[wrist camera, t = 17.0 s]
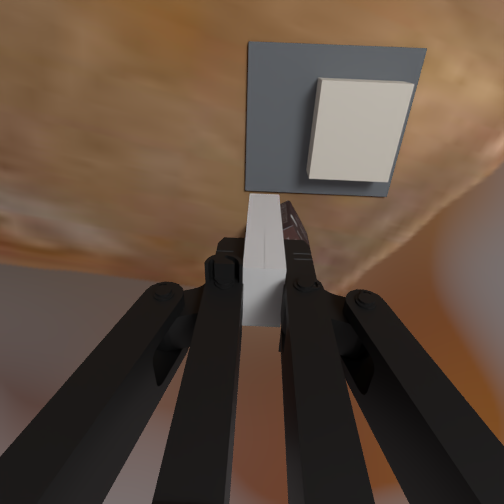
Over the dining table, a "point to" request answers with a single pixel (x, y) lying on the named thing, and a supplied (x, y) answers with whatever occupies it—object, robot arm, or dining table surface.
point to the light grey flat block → (356, 128)
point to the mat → (309, 108)
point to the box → (292, 223)
